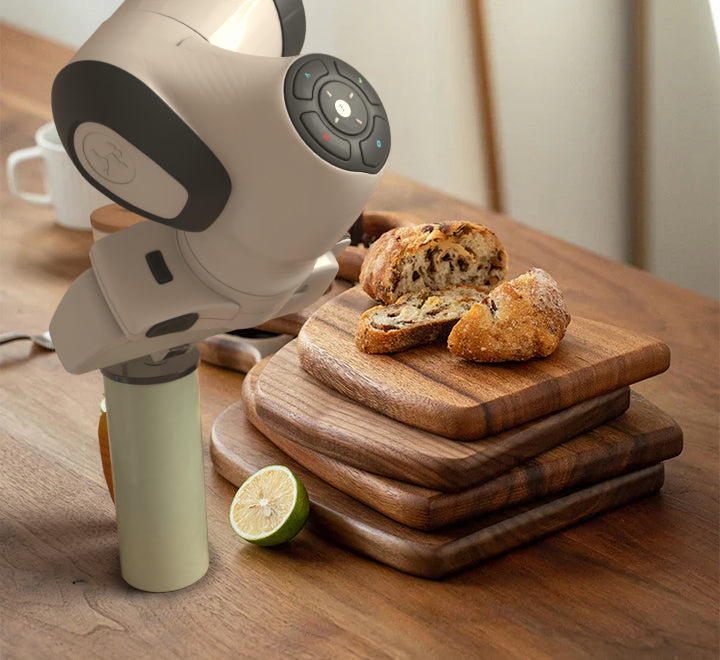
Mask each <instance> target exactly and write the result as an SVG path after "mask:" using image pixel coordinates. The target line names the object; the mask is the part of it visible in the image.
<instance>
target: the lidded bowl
mask: <svg viewBox="0 0 720 660" xmlns="http://www.w3.org/2000/svg"><path fill="white" fill-rule="evenodd" d="M145 220H147V218H144V217H142V216H140V215H137V214H135V213H133V212H131V211H129V210H127V209H125V208H123V207H122V206H120V205H118V204H117V203H115V202H113V203H110V204H106V205H103V206H101V207H98V208H96V209H94V210H93V211H92V212H91V214H90V215H89V221H90V225H91V230H92V231H91V232H92V240H93V244H94V243H95V242H96V241H98V240H99V239H101V238H103V237H105V236H107V235H110V234H113V233H115V232H118V231H120V230H123V229H125V228H128V227H130V226H133V225H135V224H137V223H140V222H142V221H145Z"/></svg>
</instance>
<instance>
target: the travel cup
mask: <svg viewBox="0 0 720 660" xmlns="http://www.w3.org/2000/svg"><path fill="white" fill-rule="evenodd" d="M201 356H202V355H201V352H200V350H199V348H198V347H197V346H195V347H194V348H193V349H192V351H191V352H189V353H185V354H182V355H178V356H174V357H171V358H168V359H165V360H162V361H158V362H154V361H153V359H152V357H151V355H146V356H143V357H139V358H136V359H132V360H129V361H125V362H122V363H118V364H115V365H112V366H108V367H105V368H101V369H99V372H100V373H101V375H102V382H103V394H104V395H105V396H104V395H103V396H104V404H105V412H106V416H107V426H108V437H109V448H110V458H111V469H112V480H113V490H114V501H115V505H114V511H115V520H116V521H115V522H116V532H117V542H118V551H119V552H118V553H119V563H120V573H121V576H122V578H123V580H124V581H125V582H126V583H127V584H128V585H130V586H131V587H133V588H135V589H138V590H141V591H144V592H151V593H167V592H174V591H179V590H181V589H184V588H187V587H190V586H191V585H193V584H195V583H197V582H198V581H200V579H202V578H203V577H204V576H205V574H206V573H207V572H208V569H209V567H210V549H209V548H210V547H209V532H208V531H209V529H208V514H207V495H206V493H207V492H206V481H205V480H206V477H205V463H204V462H205V459H204V441H203V424H202V423H203V422H202V405H201V387H200V386H201V385H200V372H199V371H200V369H199V367H200V365H201V361H202V359H201V358H202V357H201Z"/></svg>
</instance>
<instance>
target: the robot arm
mask: <svg viewBox="0 0 720 660" xmlns="http://www.w3.org/2000/svg"><path fill="white" fill-rule="evenodd" d="M306 35H307V16H306V9H305V5H304V2H303V0H124V1H122V2H121V4H120V5H119V6H118V7H117V8H116V10H114V11H113V13H112V14H111V15H110V16H109V17H108V18H107V19H105V20H104V21H103V22H102V23H101V24H100V25H99V26H98V27H97V28H96V30H95V31H94V32H93V33H91V35H90V36H89V38H88V39H87V40H85V41H84V43H83V44H82V45H81V46H80V47H79V49H77V51H76V52H75V53H74V55H73V56H72V57H70V59H69V61H68V62H67V63H66V64H65V66H63V67H62V68H61V69H60V71H59V72H57V74H56V75H55V77H54V80H53V82H52V85H51V93H50V106H51V112H52V118H53V119H52V120H53V123H54V127H55V129H56V132H57V136H58V139H59V140H60V142H61V145H62V147H63V149H64V151H65V152H66V154H67V157H68V158H69V160H70V161H71V162H72V164H73V165H74V167H75V168H76V170H77V171H78V172H79V174H80V175H81V177H83V179H84V180H85V181H86V182H87V183H88V184H89V185H91V186H92V187H93V188H94V189H95V190H97V191H98V192H99V193H101V194H102V195H104V197H106V198H108V199H109V200H110V201H112V202H113V203H117V204H118V205H120V206H122V207H123V208H125V209H127V210H129V211H131V212H133V213H135V214H137V215H140V216H142V217H144V218H147V220H145V221H142V222H140V223H137V224H135V225H133V226H130V227H128V228H125V229H123V230H120V231H118V232H115V233H113V234H110V235H107V236H105V237H103V238H101V239H99V240H98V241H96V242H95V243H94V242H93V244H92V245H91V247H90V249H89V252H88V256H89V260H90V263H91V267H89V268H88V269H86V270H84V271H83V272H82V273H80V274H79V275H78V276H77V277H76V278H75V279H74V281H73V282H72V283H70V285H69V286H68V288H67V290H66V291H65V293H64V294H63V296H62V298H61V299H60V302H59V303H58V305H57V307H56V309H55V310H54V312H53V315H52V317H51V319H50V322H49V325H48V333H49V337H50V341H51V343H52V346H53V349H54V351H55V354H56V355H57V357H58V359H59V361H60V363H61V365H62V367H63V369H64V370H65V371H66V372H67V373H69V374H71V375H74V376H80V375H85V374H87V373H88V374H89V373H91V372H93V371H97V370H100V369H101V368H105V367H108V366H112V365H115V364H118V363H122V362H125V361H129V360H132V359H136V358H139V357H143V356H146V355H151V357H152V359H153V361H154V362H158V361H162V360H165V359H168V358H171V357H174V356H178V355H182V354H185V353H189V352H191V351H192V349H193V348H194V347H195V346H196V345H198V344H200V343H202V342H203V341H206V340H207V339H209V338H212V337H215V336H218V335H223V334H225V333H229V332H232V331H235V330H244V329H251V328H255V327H258V326H261V325H263V324H264V323H266V322H268V321H271V320H274V319H278V318H281V317H284V316H288V315H290V314H294V313H298V312H301V311H304V310H306V309H307V308H309V307H311V306H312V305H315V303H317V302H318V301H319V300H320V299H321V298H322V297H323V295H324V294H325V292H326V291H327V290H328V288H329V287H330V286H331V284H332V283H333V281H334V280H335V278H336V276H337V275H338V272H339V269H340V266H339V263H338V261H337V258H338V257H340V256H341V255H342V253H343V252H344V251H345V250H346V249H347V248H348V247H349V246H350V244H351V243H352V240H351V234H350V233H349V230H350V229H351V227H352V226H353V225H354V223H355V222H356V221H357V220H358V219H359V218H360V216H361V214H362V213H363V212H364V210H365V209H366V208H367V206H368V205H369V203H370V202H371V200H372V198H373V197H374V195H375V194H376V192H377V190H378V189H379V187H380V185H381V183H382V180H383V178H384V176H385V173H386V172H387V169H388V166H389V160H390V156H391V150H392V149H391V148H392V133H391V126H390V122H389V117H388V113H387V110H386V108H385V106H384V104H383V102H382V100H381V98H380V95H379V94H378V93H377V91H376V89H375V88H374V86H373V85H372V84H371V83H370V81H369V80H368V79H367V78H366V77H365V76H364V75H363V74H362V73H361V71H359V70H358V69H357V68H355V67H354V66H353V65H351V64H350V63H348V62H346V61H345V60H343V59H341V58H339V57H336V56H334V55H331V54H329V53H328V54H327V53H324V52H306V53H302V54H301V52H302V50H303V48H304V44H305V40H306ZM196 347H197V346H196Z"/></svg>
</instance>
